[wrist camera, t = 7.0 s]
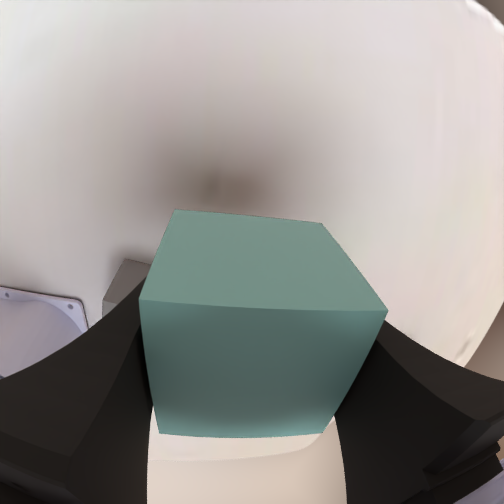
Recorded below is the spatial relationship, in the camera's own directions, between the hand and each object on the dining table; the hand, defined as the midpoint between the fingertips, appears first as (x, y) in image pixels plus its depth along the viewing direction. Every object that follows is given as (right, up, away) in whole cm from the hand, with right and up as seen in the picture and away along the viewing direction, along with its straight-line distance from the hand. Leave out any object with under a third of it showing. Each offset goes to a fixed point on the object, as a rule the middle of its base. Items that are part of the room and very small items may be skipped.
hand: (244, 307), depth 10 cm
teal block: (0, +1, +1) cm, 2 cm away
